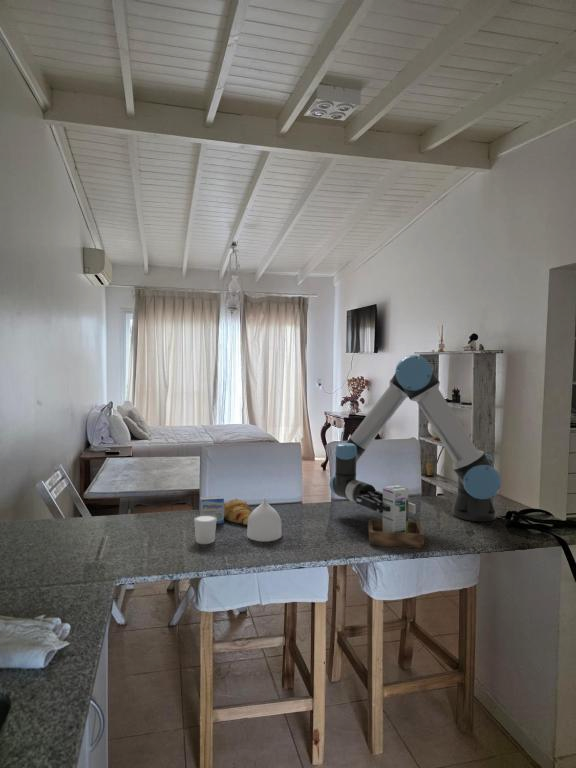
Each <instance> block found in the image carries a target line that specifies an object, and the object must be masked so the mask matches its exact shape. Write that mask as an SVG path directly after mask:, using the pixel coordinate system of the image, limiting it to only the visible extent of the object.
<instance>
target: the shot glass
mask: <svg viewBox="0 0 576 768" xmlns="http://www.w3.org/2000/svg"><path fill="white" fill-rule="evenodd" d="M216 520H217V518H216V517H214V516H209V515H205V516H200V515H198V516H196V517H194V518H193V522H194V532H195V533H194V534H195V543H196V544H200V545H208V544H212V543H214V542H215V538H216V529H217V524H216Z"/></svg>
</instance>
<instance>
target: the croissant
mask: <svg viewBox="0 0 576 768" xmlns="http://www.w3.org/2000/svg"><path fill="white" fill-rule="evenodd" d="M252 512H253V511H252V510H251V509H250V507H249V505H248V503H247V502H245V501H243V500H242V499H238V498H235V499H231V500H229V501H228V502H224V520H227V521H228V522H231V523H236V524H240V525H241V524H243V525H245V526H248V519H249V516H250V514H251V513H252Z"/></svg>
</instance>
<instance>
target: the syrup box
mask: <svg viewBox="0 0 576 768" xmlns="http://www.w3.org/2000/svg"><path fill="white" fill-rule="evenodd" d="M382 493H383V504H384V502H387V503H390V504H393V505H395V506H398V507H400V511H399V516H395V515H393V514H390V513H388V512H385V511H384V510H383V513H382V520H383V532H399V533H408V521H409V512H408V502H409V488H408V487H405V486H403V485H402V486H401V485H398V484H396V485H392V486H383V487H382Z"/></svg>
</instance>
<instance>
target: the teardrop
mask: <svg viewBox="0 0 576 768" xmlns="http://www.w3.org/2000/svg"><path fill="white" fill-rule="evenodd" d="M251 512H252V513H251V514H250V516H249V519H248V525H247V529H246V537H247V538H248V539H250V540H252V541H256V542H271V541H277V540H278V539H280V538H281V537H282V533H283V532H282V520H281V516H280V514H279V513H278V512H277V510H276V509H275V508H274V507H272V505H270V504H269V503H268V502H267V500H266V498H264V499H263V501H262V503H260V505H258V506H257V507H255V508H254V509H253V510H252V511H251Z"/></svg>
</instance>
